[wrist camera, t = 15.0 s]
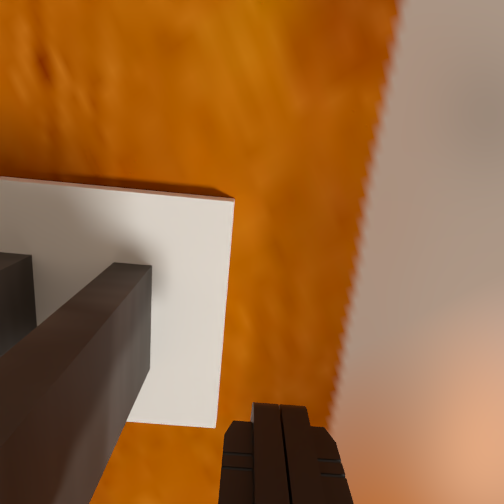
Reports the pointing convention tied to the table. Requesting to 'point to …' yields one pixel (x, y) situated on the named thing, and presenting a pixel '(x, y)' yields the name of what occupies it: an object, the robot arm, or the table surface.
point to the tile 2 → (16, 299)
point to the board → (144, 253)
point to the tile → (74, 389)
